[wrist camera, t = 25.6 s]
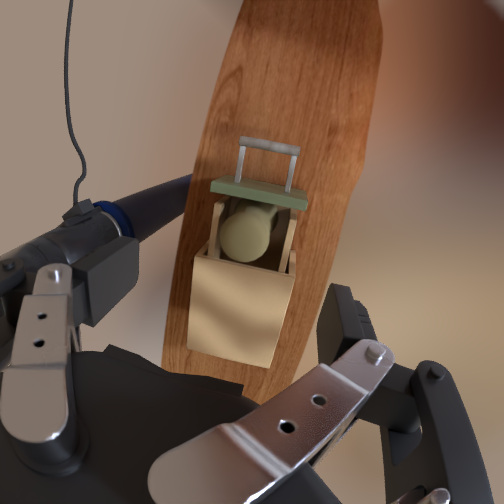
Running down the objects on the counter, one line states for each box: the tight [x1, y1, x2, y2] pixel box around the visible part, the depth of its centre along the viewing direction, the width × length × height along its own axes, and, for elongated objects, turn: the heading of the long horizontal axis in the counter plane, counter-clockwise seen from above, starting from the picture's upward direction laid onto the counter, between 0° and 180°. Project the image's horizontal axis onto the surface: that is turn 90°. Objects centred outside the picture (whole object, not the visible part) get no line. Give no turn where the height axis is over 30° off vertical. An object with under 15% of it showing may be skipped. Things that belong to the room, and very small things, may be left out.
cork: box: [220, 198, 278, 262], centre depth 35 cm, size 6×6×11 cm
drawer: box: [207, 136, 308, 273], centre depth 37 cm, size 19×11×7 cm, turn 170°
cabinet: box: [187, 240, 296, 368], centre depth 42 cm, size 15×12×9 cm
